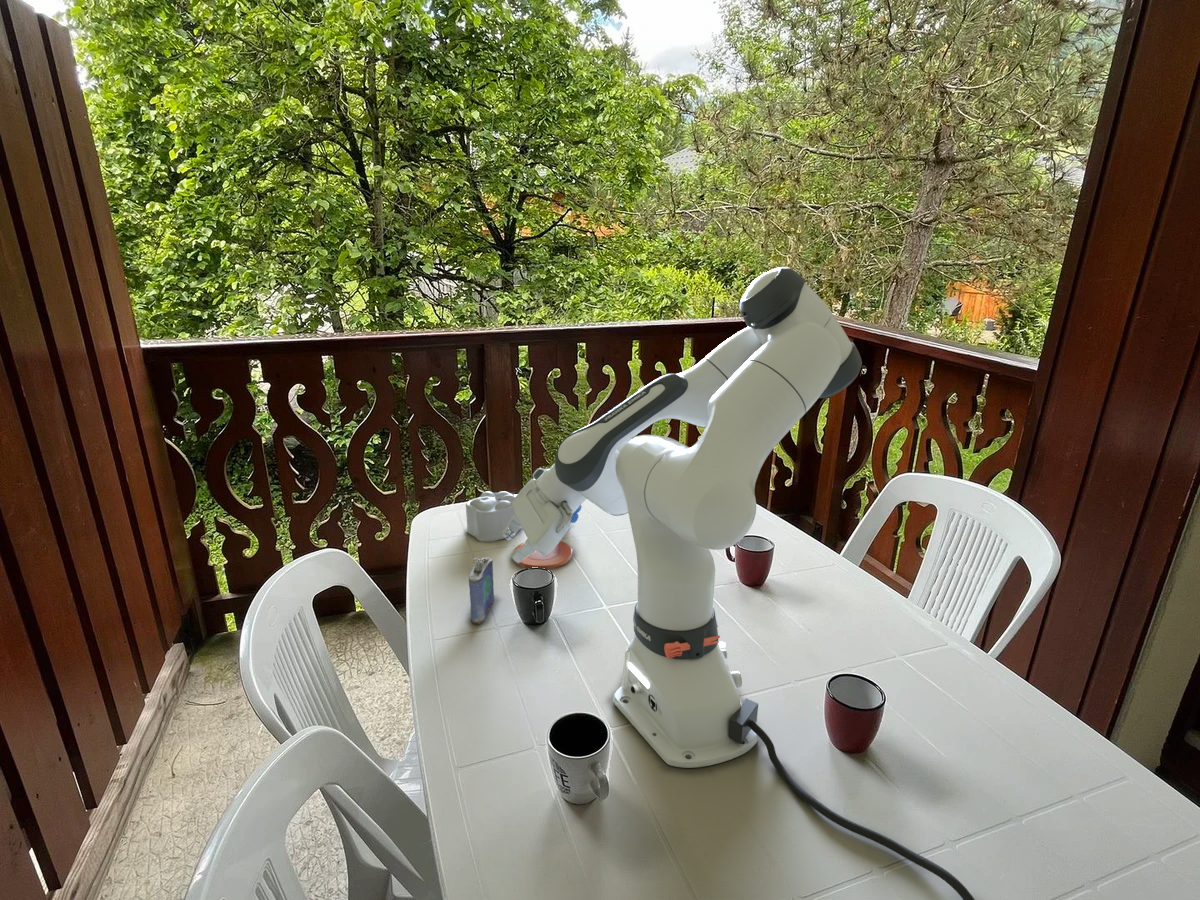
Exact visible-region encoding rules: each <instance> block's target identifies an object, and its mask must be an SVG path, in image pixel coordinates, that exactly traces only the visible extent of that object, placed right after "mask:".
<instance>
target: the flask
mask: <svg viewBox="0 0 1200 900" xmlns="http://www.w3.org/2000/svg"><path fill="white" fill-rule="evenodd" d="M472 563H475V565H474V566H473V567H472V568H471V571H470V574H469V576H468V586H469V601H470V619H471V622H472V624H474V625H477V624H479V625H481V624H482V623H483V622H484V621H485V620H486V619H487V618H486V617H487V615H488V614H489V612H490V609H491V606H492V605H494V603H495V591H494V589H495V588H494V567H493V566H494V561H493V558H491V557H487V556H485V557H482V558H477V557H475V558H473V559H472Z"/></svg>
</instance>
